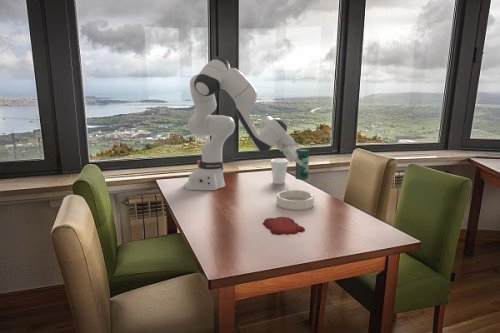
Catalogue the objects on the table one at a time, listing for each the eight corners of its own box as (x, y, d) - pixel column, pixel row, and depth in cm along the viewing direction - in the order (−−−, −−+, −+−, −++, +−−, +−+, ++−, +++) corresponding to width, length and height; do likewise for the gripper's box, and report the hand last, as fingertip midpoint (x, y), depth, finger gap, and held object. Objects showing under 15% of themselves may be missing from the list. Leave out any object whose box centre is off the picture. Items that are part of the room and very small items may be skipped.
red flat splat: (308, 233, 146) (308, 228, 145) (275, 238, 141) (275, 233, 141) (288, 217, 162) (288, 213, 161) (258, 221, 157) (258, 217, 157)
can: (304, 180, 189) (305, 151, 186) (293, 178, 192) (294, 150, 189) (309, 177, 194) (310, 149, 191) (298, 175, 197) (299, 148, 194)
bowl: (282, 211, 168) (282, 202, 167) (273, 199, 184) (273, 191, 183) (318, 209, 171) (318, 200, 170) (306, 197, 187) (306, 189, 186)
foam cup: (286, 185, 209) (286, 162, 206) (269, 184, 211) (270, 161, 208) (287, 180, 218) (288, 159, 215) (272, 179, 220) (272, 158, 217)
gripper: (285, 142, 181) (305, 163, 180) (292, 135, 200) (310, 154, 200) (276, 151, 183) (295, 172, 183) (284, 143, 202) (301, 162, 202)
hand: (303, 163), depth 191 cm, fingers closed on can, 6 cm apart
